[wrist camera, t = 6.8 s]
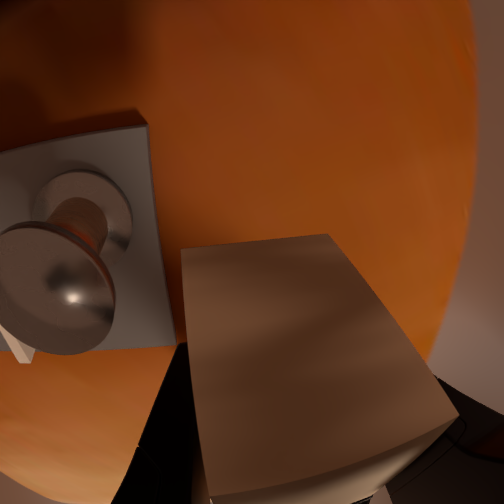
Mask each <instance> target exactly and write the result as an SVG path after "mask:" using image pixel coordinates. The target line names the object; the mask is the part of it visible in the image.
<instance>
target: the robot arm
mask: <svg viewBox="0 0 504 504" xmlns="http://www.w3.org/2000/svg"><path fill="white" fill-rule="evenodd" d="M433 375H434V374H433ZM434 376H435V375H434ZM435 378H436V379H437V377H436V376H435ZM437 381H438V382H439V384H440V385H441V387H442V388H443V390H444V391H445V393H446V395H447V396H448V398H449V399H450V401H451V402H452V404H453V405H454V407H455V409H456V410H457V412H458V413H459V416H458V417H457V418H456V419H455V421H454V422H453V423H452V424H451V425H450V426H449V427H448V428H447V429H446V430H445V431H444V432H443V433H442V434H441V435H440V436H439V437H438V438H437V439H436V440H435V441H434V442H433V443H432V444H431V445H430V446H429V447H428V448H427V449H426V450H425V451H424V452H423V453H422V454H421V455H420V456H418V457H417V458H416V459H415V460H414V461H413V462H412V463H411V464H410V465H408V466H407V467H406V468H405V469H404V470H403V471H401V472H400V473H399V474H398V475H397V476H395V477H394V478H393V479H392V480H391V481H389V482H388V483H387V484H386V485H385V486H386V488H387V491H388V493H389V495H390V498H391V501H392V503H393V504H504V415H502V414H500V413H498V412H496V411H494V410H492V409H490V408H489V407H486V406H485V405H483V404H481V403H479V402H477V401H475V400H474V399H472V398H470V397H468V396H466V395H465V394H463V393H461V392H459V391H458V390H456V389H455V388H453V387H451V386H450V385H448V384H447V383H446V382H444V381H443V380H441V379H440V378H438V379H437ZM138 446H139V447H137V448H136V450H135V453H134V456H133V458H132V461H131V463H130V465H129V468H128V470H127V473H126V475H125V477H124V479H123V481H122V483H121V485H120V487H119V489H118V491H117V493H116V495H115V496H114V498H113V500H112V502H111V504H210V496H209V491H208V486H207V481H206V475H205V469H204V464H203V458H202V451H201V445H200V439H199V432H198V425H197V418H196V411H195V403H194V396H193V388H192V379H191V371H190V362H189V352H188V342H183V343H179V344H178V346H177V348H176V350H175V353H174V355H173V358H172V360H171V363H170V365H169V367H168V370H167V372H166V375H165V377H164V380H163V382H162V385H161V387H160V390H159V392H158V395H157V397H156V400H155V402H154V405H153V407H152V410H151V412H150V415H149V417H148V420H147V422H146V425H145V427H144V430H143V433H142V435H141V438H140V440H139V443H138ZM372 496H373V494H372V495H371V496H369V497H367V498H364V499H362V500H359V501H356V502H354V503H351V504H369V502H370V498H372Z"/></svg>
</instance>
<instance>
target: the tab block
mask: <svg viewBox="0 0 504 504" xmlns="http://www.w3.org/2000/svg"><path fill="white" fill-rule="evenodd" d="M181 265H182V281H183V295H184V308H185V320H186V332H187V342H188V352H189V362H190V371H191V379H192V388H193V396H194V403H195V411H196V418H197V425H198V432H199V439H200V445H201V451H202V458H203V464H204V469H205V475H206V481H207V486H208V491H209V496H210V498H211V500H212V502H213V504H351V503H354V502H356V501H359V500H362V499H364V498H367V497H369V496H371V495H372V494H374V493H375V492H376V491H378V490H379V489H380V488H382V487H383V486H384V485H386V484H387V483H388V482H389V481H391V480H392V479H393V478H394V477H395V476H397V475H398V474H399V473H400V472H401V471H403V470H404V469H405V468H406V467H407V466H408V465H410V464H411V463H412V462H413V461H414V460H415V459H416V458H417V457H418V456H420V455H421V454H422V453H423V452H424V451H425V450H426V449H427V448H428V447H429V446H430V445H431V444H432V443H433V442H434V441H435V440H436V439H437V438H438V437H439V436H440V435H441V434H442V433H443V432H444V431H445V430H446V429H447V428H448V427H449V426H450V425H451V424H452V423H453V422H454V421H455V419H456V418H457V417H458V416H459V413H458V412H457V410H456V409H455V407H454V405H453V404H452V402H451V401H450V399H449V398H448V396H447V395H446V393H445V391H444V390H443V388H442V387H441V385H440V384H439V382H438V381H437V379H436V378H435V376H434V375H433V373H432V372H431V370H430V369H429V368H428V366H427V365H426V363H425V362H424V360H423V359H422V357H421V356H420V354H419V353H418V352H417V350H416V349H415V347H414V346H413V344H412V343H411V342H410V340H409V339H408V337H407V336H406V335H405V333H404V332H403V330H402V329H401V328H400V326H399V325H398V324H397V322H396V321H395V319H394V318H393V317H392V315H391V314H390V313H389V311H388V310H387V309H386V307H385V306H384V305H383V303H382V302H381V301H380V299H379V298H378V297H377V295H376V294H375V293H374V291H373V290H372V289H371V287H370V286H369V285H368V284H367V282H366V281H365V280H364V278H363V277H362V276H361V275H360V273H359V272H358V271H357V269H356V268H355V267H354V266H353V264H352V263H351V262H350V261H349V259H348V258H347V257H346V256H345V254H344V253H343V252H342V251H341V249H340V248H339V247H338V246H337V244H336V243H335V242H334V241H333V239H332V238H331V237H330V236H329V235H328V234H320V235H310V236H300V237H290V238H280V239H270V240H260V241H251V242H241V243H231V244H222V245H213V246H203V247H194V248H185V249H181Z"/></svg>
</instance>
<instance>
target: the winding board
mask: <svg viewBox="0 0 504 504" xmlns="http://www.w3.org/2000/svg"><path fill="white" fill-rule="evenodd" d="M72 169H88V170H93V171H96V172H99V173H101V174H103V175H105V176H107V177H108V178H110V179H111V180H113V181H114V182H115V183H116V184H117V185H118V186H119V187H120V188H121V189H122V191H123V192H124V194H125V195H126V197H127V199H128V201H129V203H130V206H131V209H132V214H133V230H132V235H131V239H130V242H129V245H128V248H127V250H126V252H125V253H124V255H123V256H122V257H121V258H120V259H119V261H117V262H116V263H115V264H114V265H112V266H111V267H109V268H108V270H109V272H110V274H111V276H112V279H113V282H114V286H115V291H116V308H115V313H114V319H113V323H112V327H111V329H110V332H109V334H108V335H107V336H106V338H105V339H104V340H103V341H102V342H101V343H100V344H99V345H98V346H96V347H95V348H93V349H91V350H112V349H130V348H144V347H157V346H169V345H177V341H176V331H175V326H174V320H173V315H172V310H171V304H170V299H169V293H168V287H167V281H166V275H165V269H164V263H163V256H162V249H161V243H160V235H159V228H158V220H157V212H156V204H155V195H154V186H153V176H152V165H151V154H150V141H149V127H148V124H142V125H134V126H126V127H119V128H112V129H105V130H99V131H93V132H87V133H82V134H76V135H71V136H66V137H61V138H56V139H51V140H47V141H42V142H38V143H34V144H30V145H26V146H22V147H18V148H14V149H10V150H6V151H3V152H0V233H1V232H2V231H3V230H5V229H6V228H8V227H9V226H12V225H14V224H16V223H20V222H25V221H32V210H33V206H34V202H35V200H36V198H37V195H38V194H39V192H40V191H41V190H42V188H43V187H44V186H45V185H46V184H47V183H48V182H49V181H50V180H52V179H53V178H54V177H55V176H57V175H59V174H60V173H63V172H65V171H68V170H72ZM0 351H12V352H13V353H14V355H15V357H16V358H17V360H18V361H19V363H31V361H32V358H33V355H34V352H35V351H40V350H37V349H34V348H32V347H30V346H28V345H26V344H24V343H22V342H21V341H19V340H18V339H16V338H15V337H13V336H12V335H11V334H10V333H9V332H7V331H6V330H5V329H4V328H3V327H2V326H1V325H0ZM89 351H90V350H89Z"/></svg>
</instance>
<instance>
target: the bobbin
mask: <svg viewBox="0 0 504 504" xmlns="http://www.w3.org/2000/svg"><path fill="white" fill-rule="evenodd" d="M132 230H133V214H132V209H131V206H130V203H129V201H128V199H127V197H126V195H125V194H124V192H123V191H122V189H121V188H120V187H119V186H118V185H117V184H116V183H115V182H114V181H113V180H111V179H110V178H108V177H107V176H105V175H103V174H101V173H99V172H96V171H93V170H88V169H72V170H68V171H65V172H63V173H60V174H59V175H57V176H55V177H54V178H53V179H52V180H50V181H49V182H48V183H47V184H46V185H45V186H44V187H43V188H42V190H41V191H40V192H39V194H38V195H37V198H36V200H35V202H34V206H33V210H32V221H25V222H20V223H16V224H14V225H12V226H9V227H8V228H6V229H5V230H3V231H2V232H1V233H0V325H1V326H2V327H3V328H4V329H5V330H6V331H7V332H9V333H10V334H11V335H12V336H13V337H15V338H16V339H18V340H19V341H21V342H22V343H24V344H26V345H28V346H30V347H32V348H34V349H37V350H40V351H43V352H47V353H51V354H57V355H74V354H79V353H83V352H86V351H89V350H91V349H93V348H95V347H96V346H98V345H99V344H100V343H101V342H102V341H103V340H104V339H105V338H106V336H107V335H108V334H109V332H110V329H111V327H112V323H113V319H114V313H115V308H116V291H115V286H114V282H113V279H112V276H111V274H110V272H109V270H108V268H109V267H111V266H112V265H114V264H115V263H116V262H117V261H119V259H120V258H121V257H122V256H123V255H124V253H125V252H126V250H127V248H128V245H129V242H130V239H131V235H132Z"/></svg>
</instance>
